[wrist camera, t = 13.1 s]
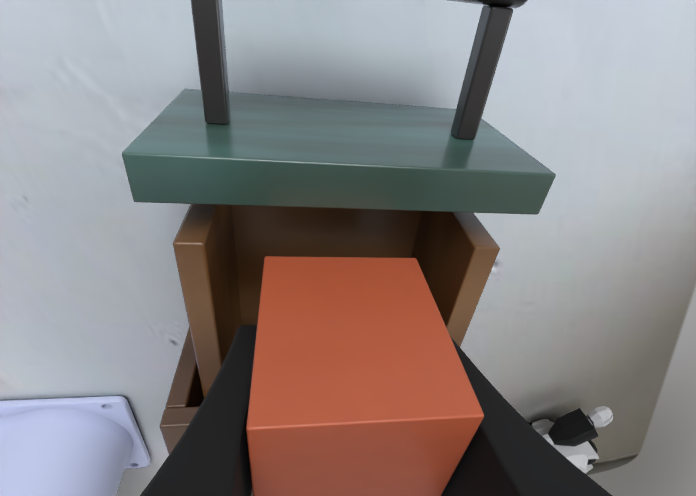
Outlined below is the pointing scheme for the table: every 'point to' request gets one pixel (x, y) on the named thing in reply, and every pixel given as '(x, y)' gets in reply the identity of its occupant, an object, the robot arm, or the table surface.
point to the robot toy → (575, 435)
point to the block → (354, 382)
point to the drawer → (328, 185)
